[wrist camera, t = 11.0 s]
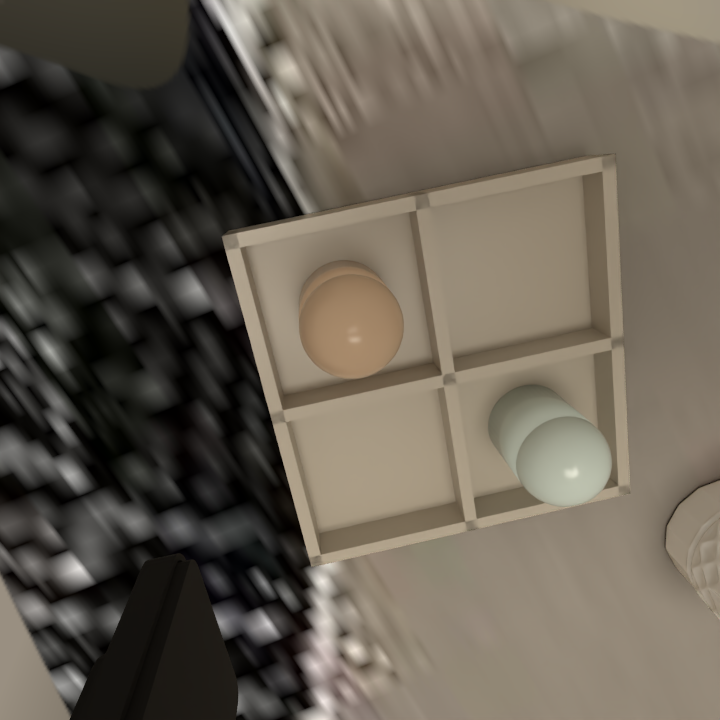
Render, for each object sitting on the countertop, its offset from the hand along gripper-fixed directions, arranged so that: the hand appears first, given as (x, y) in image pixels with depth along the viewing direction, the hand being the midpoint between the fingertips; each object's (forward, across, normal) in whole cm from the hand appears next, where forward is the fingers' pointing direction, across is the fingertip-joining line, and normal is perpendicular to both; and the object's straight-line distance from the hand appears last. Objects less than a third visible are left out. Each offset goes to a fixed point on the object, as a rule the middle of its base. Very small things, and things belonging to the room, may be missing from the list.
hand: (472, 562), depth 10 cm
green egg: (+18, -7, +7) cm, 21 cm away
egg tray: (+19, -3, +3) cm, 19 cm away
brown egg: (+18, +1, -1) cm, 18 cm away
